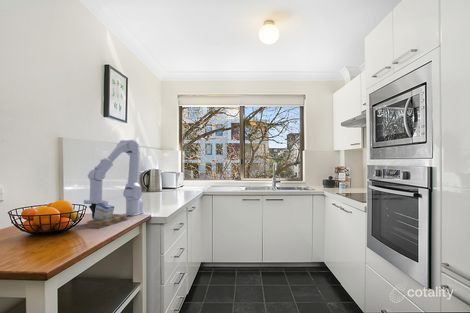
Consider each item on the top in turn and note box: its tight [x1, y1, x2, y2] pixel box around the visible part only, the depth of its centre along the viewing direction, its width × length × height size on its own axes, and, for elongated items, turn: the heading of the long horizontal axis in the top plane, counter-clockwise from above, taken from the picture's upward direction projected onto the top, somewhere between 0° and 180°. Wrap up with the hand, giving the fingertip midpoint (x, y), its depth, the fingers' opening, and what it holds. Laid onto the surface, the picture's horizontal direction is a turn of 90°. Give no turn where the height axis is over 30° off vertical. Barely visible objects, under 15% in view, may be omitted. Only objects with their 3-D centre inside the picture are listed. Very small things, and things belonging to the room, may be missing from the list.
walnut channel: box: [86, 213, 128, 229], centre depth 139 cm, size 18×8×2 cm, turn 161°
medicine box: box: [92, 204, 115, 220], centre depth 140 cm, size 8×4×9 cm, turn 77°
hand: (95, 218), depth 141 cm, fingers closed, pressing on medicine box
